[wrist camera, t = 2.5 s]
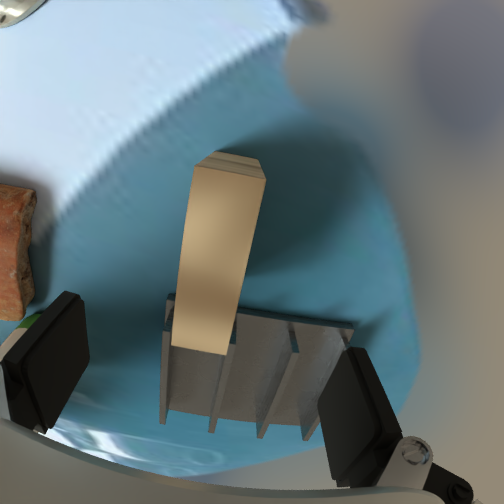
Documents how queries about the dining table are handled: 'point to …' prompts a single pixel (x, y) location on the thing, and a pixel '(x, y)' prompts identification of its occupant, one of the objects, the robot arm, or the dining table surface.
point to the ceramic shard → (15, 251)
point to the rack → (254, 370)
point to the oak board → (216, 249)
